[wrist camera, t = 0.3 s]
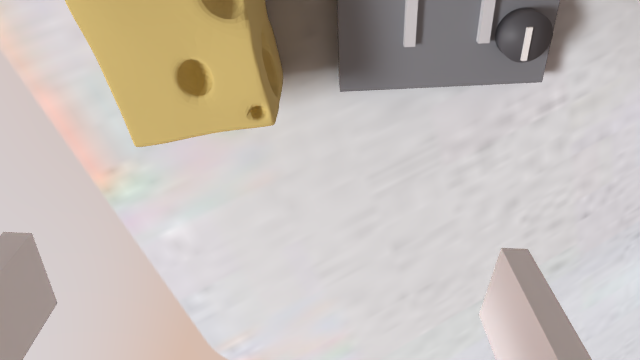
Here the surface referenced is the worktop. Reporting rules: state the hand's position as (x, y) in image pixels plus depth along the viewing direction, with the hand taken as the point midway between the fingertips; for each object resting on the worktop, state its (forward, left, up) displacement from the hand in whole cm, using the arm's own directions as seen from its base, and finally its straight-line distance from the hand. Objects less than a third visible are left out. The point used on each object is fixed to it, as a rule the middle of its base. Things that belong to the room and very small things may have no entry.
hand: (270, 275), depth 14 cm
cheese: (0, -7, -28) cm, 28 cm away
